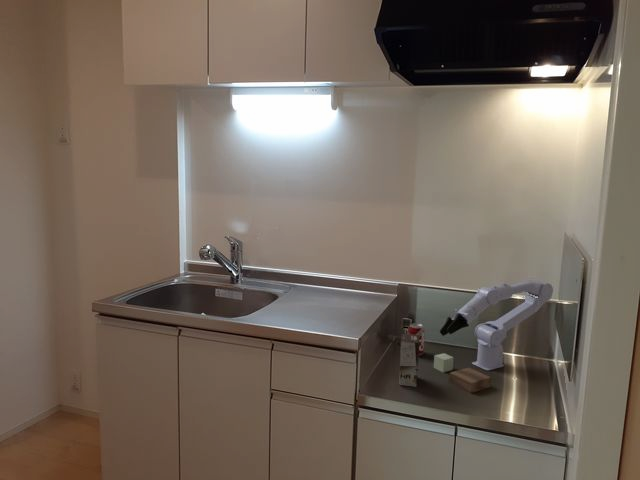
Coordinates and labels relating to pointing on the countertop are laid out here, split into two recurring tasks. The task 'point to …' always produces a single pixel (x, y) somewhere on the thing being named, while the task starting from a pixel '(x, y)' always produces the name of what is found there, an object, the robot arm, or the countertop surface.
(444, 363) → the sage cube
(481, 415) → the countertop surface
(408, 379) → the coffee box
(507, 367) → the countertop surface
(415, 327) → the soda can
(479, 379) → the walnut base
